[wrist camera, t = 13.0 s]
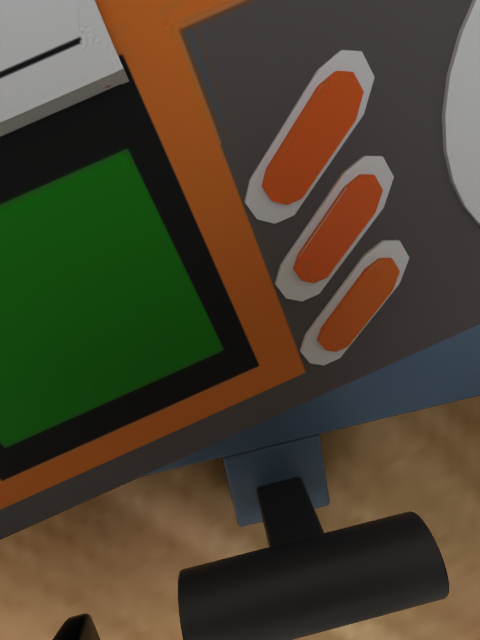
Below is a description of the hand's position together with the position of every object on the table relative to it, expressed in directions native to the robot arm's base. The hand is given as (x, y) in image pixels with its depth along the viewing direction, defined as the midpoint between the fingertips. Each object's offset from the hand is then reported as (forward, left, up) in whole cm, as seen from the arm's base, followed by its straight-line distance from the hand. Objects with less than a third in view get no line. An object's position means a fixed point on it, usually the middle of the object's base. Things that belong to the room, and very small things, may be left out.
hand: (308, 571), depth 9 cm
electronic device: (+8, 0, -2) cm, 8 cm away
